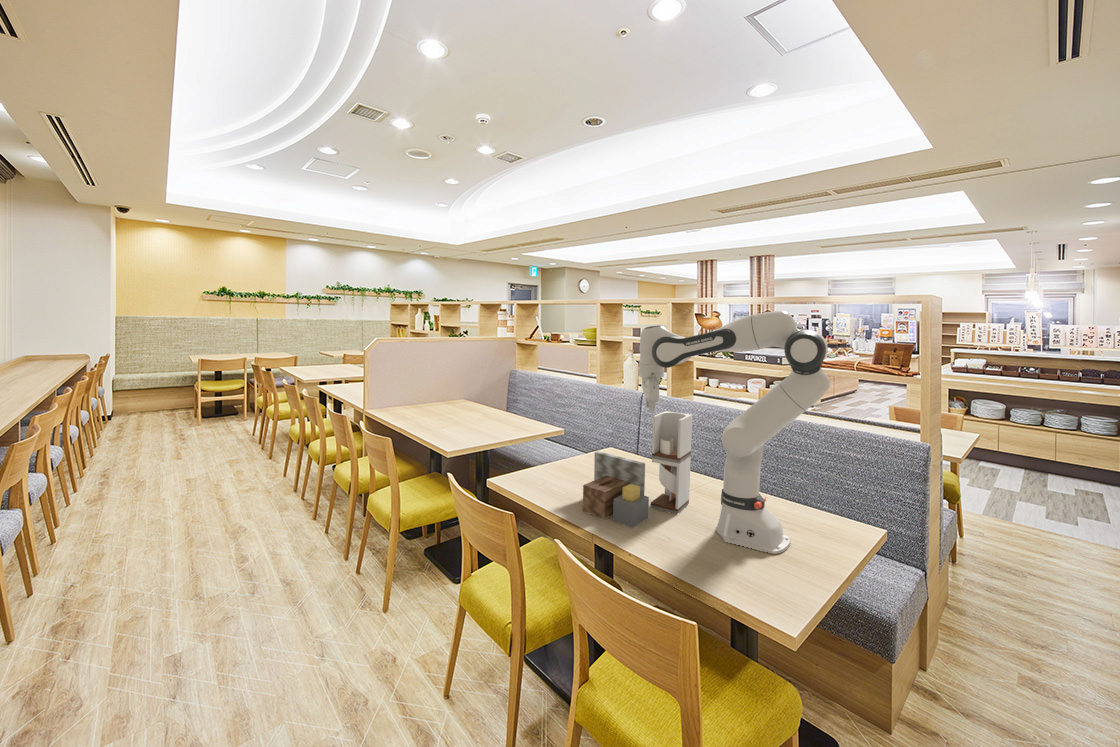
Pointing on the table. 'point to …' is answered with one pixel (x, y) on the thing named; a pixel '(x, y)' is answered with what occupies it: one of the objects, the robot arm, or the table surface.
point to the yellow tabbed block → (631, 492)
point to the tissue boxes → (610, 482)
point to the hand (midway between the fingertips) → (649, 410)
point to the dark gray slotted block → (630, 510)
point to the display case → (672, 459)
